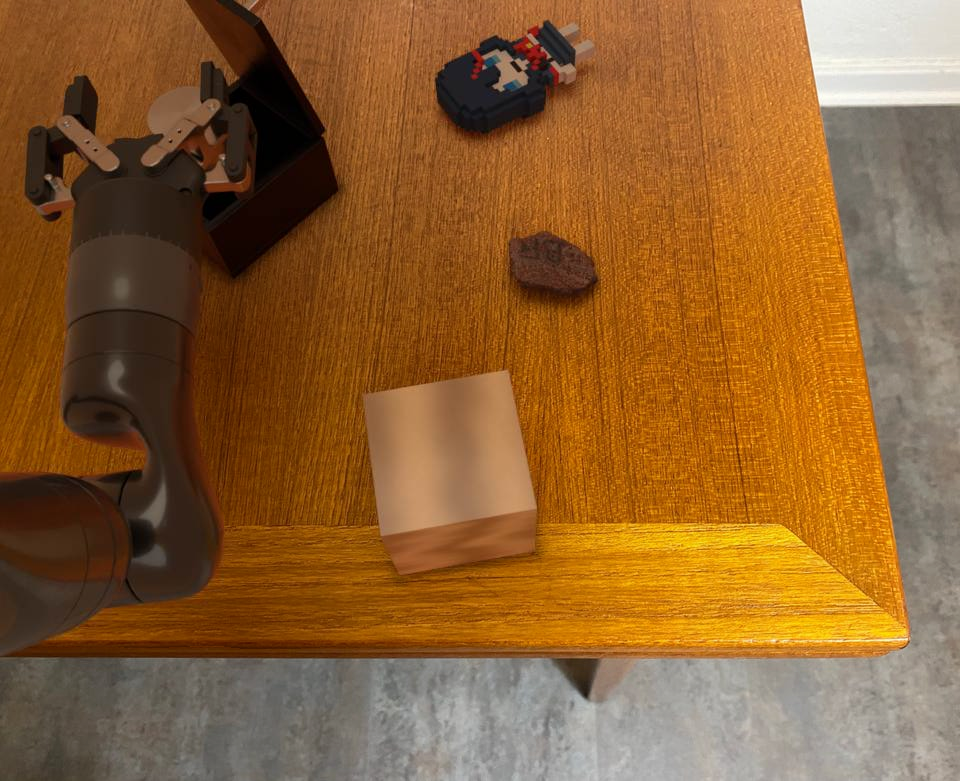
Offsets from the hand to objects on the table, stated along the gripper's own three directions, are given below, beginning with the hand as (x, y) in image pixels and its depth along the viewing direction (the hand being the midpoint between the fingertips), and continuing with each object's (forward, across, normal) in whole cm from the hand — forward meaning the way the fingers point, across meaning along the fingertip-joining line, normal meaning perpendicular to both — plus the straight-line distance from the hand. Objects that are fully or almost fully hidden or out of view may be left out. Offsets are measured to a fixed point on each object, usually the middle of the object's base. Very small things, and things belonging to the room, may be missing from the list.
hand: (148, 77), depth 60 cm
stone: (-8, -27, +19) cm, 34 cm away
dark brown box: (+4, -2, +19) cm, 19 cm away
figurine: (+13, -27, +19) cm, 36 cm away
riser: (-26, -17, +19) cm, 37 cm away
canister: (+3, 0, +18) cm, 18 cm away
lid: (+7, -5, +5) cm, 10 cm away
